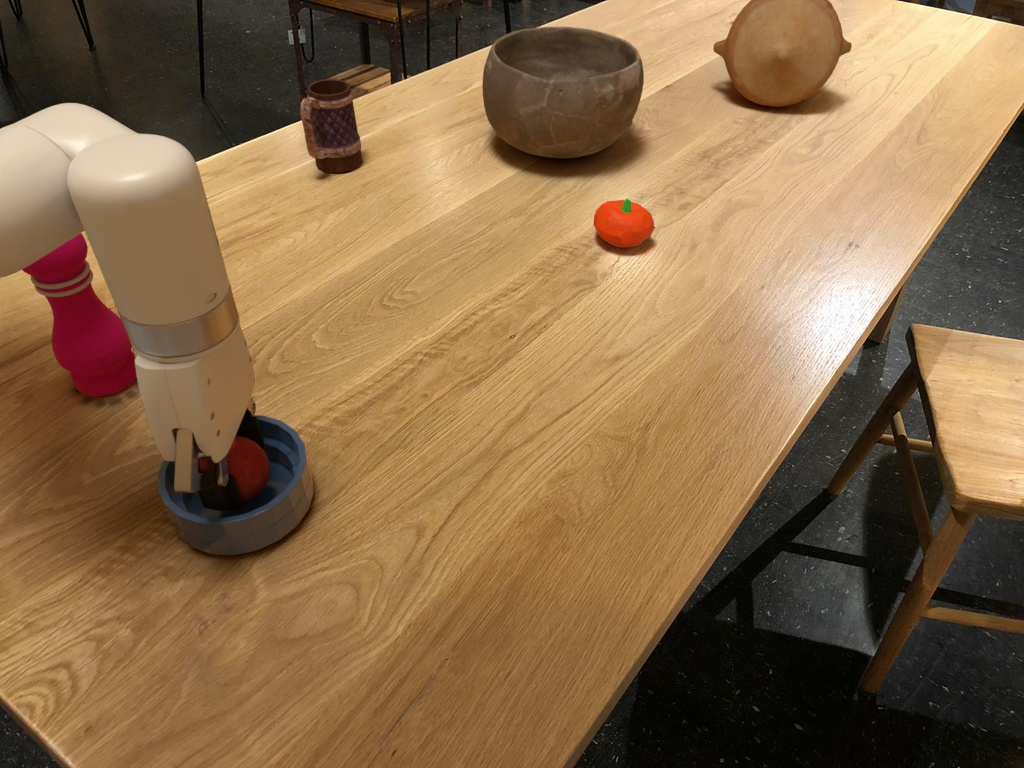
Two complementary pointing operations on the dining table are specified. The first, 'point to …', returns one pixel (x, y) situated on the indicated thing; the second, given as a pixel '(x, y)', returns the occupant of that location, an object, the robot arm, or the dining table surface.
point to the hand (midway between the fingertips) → (235, 475)
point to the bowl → (561, 90)
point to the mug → (331, 126)
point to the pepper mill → (83, 322)
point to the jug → (782, 49)
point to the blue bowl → (260, 515)
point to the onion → (245, 467)
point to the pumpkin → (623, 223)
